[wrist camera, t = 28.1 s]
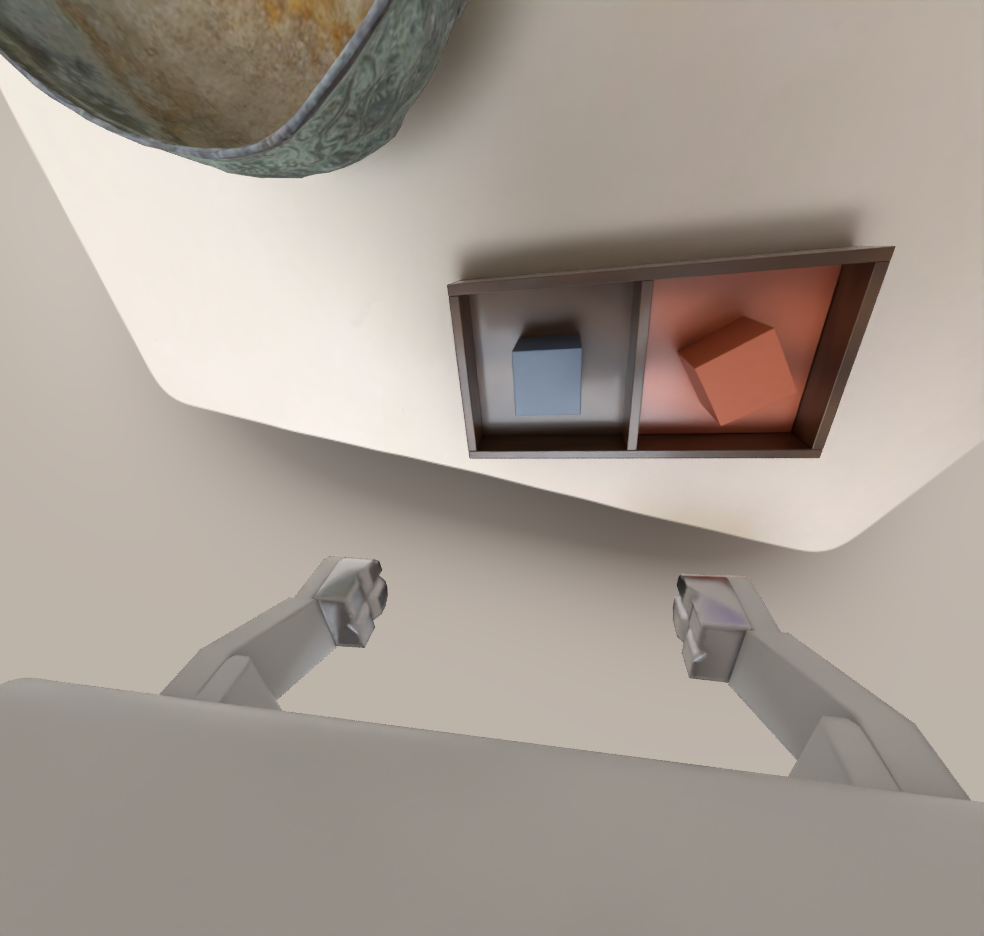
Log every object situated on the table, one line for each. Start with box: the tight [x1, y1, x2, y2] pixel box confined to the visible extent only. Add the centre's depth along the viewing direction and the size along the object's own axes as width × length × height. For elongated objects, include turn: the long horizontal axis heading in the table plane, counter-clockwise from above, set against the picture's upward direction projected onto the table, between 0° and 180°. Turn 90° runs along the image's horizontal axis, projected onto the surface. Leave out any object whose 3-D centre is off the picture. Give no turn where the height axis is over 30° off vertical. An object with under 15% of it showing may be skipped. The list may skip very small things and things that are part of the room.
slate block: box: [512, 334, 582, 416], centre depth 28 cm, size 4×4×4 cm
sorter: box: [447, 246, 895, 458], centre depth 28 cm, size 13×25×4 cm, turn 95°
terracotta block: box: [677, 316, 797, 426], centre depth 26 cm, size 4×4×4 cm
